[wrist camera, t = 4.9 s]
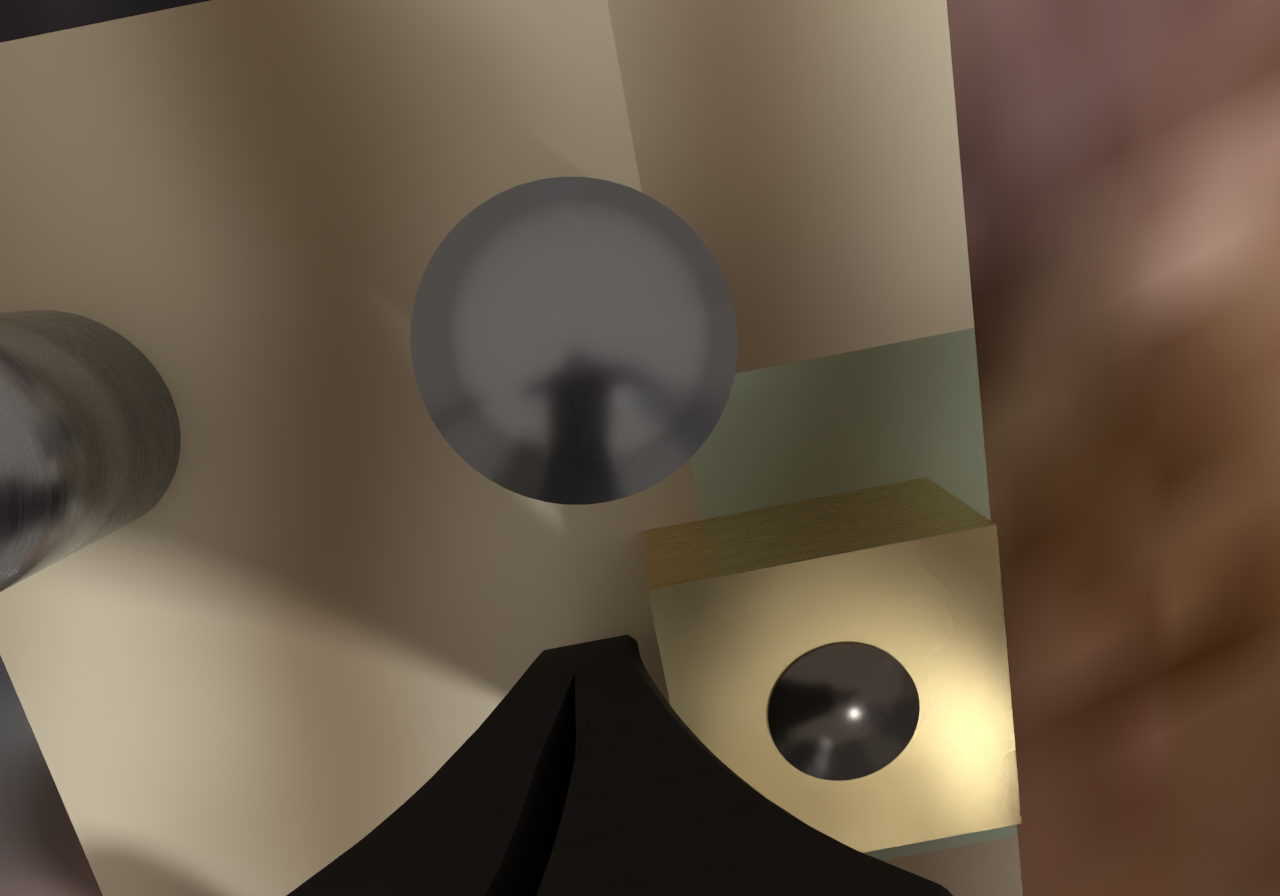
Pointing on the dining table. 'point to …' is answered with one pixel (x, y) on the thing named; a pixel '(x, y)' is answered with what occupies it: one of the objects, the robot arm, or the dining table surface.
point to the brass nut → (846, 659)
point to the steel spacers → (420, 370)
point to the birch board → (388, 393)
